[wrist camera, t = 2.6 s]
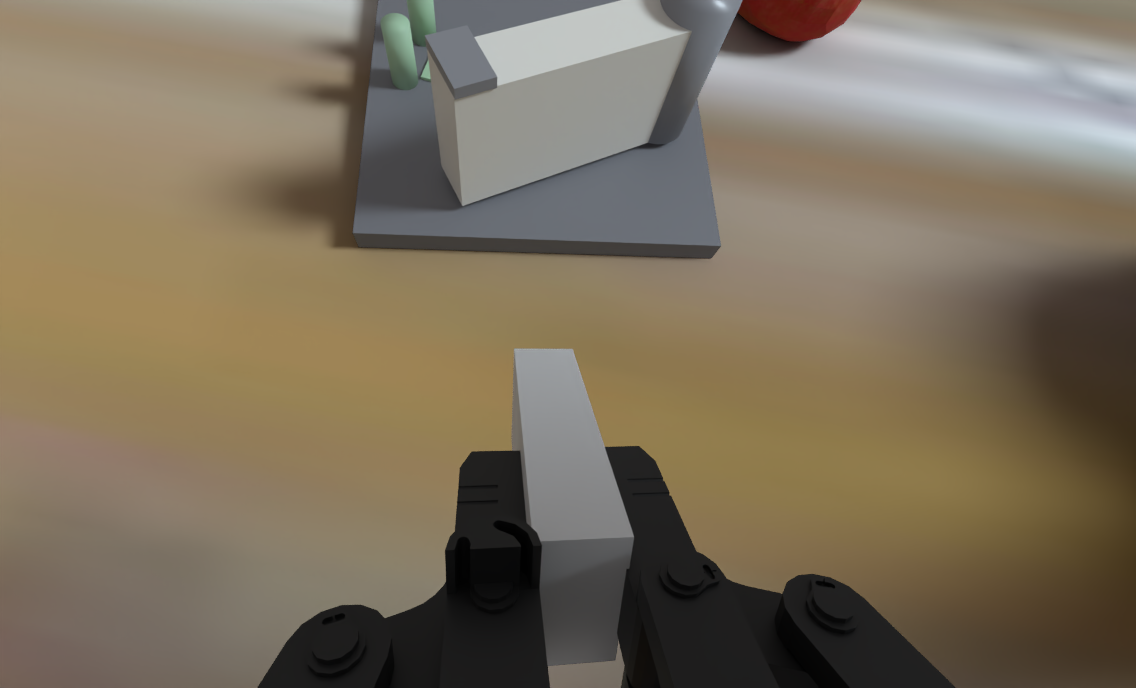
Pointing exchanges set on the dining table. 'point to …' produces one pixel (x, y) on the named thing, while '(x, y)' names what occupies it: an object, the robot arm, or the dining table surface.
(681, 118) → the white slab
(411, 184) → the dial plate
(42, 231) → the dining table surface
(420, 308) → the dining table surface
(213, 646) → the dining table surface
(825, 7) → the apple
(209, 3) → the dining table surface
